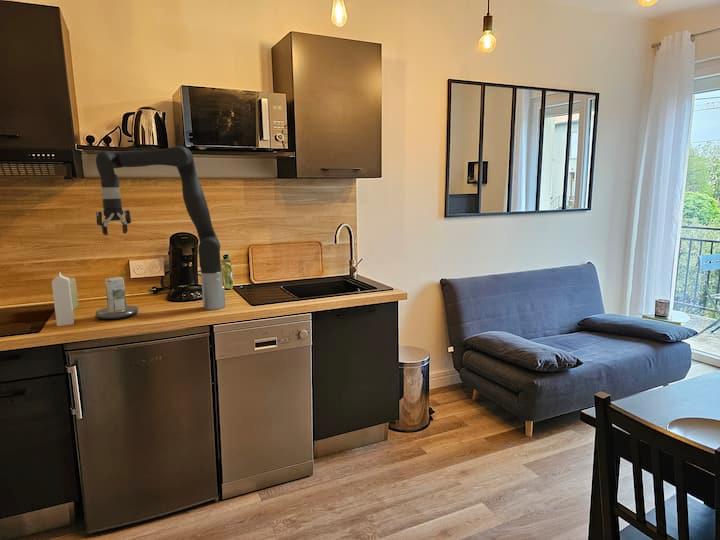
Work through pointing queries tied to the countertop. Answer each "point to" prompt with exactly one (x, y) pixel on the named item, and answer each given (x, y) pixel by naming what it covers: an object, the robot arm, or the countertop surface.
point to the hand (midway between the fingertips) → (115, 234)
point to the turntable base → (117, 318)
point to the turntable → (116, 313)
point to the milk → (63, 300)
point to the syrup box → (115, 294)
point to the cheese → (73, 292)
